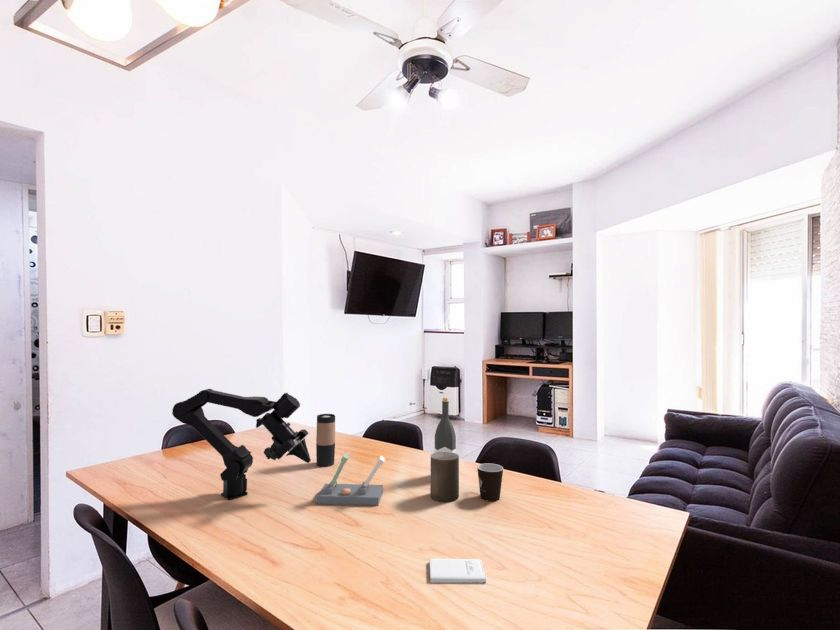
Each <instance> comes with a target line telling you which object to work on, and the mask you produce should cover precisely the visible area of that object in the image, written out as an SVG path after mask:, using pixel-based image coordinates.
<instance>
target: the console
mask: <svg viewBox="0 0 840 630" xmlns="http://www.w3.org/2000/svg"><path fill="white" fill-rule="evenodd" d="M329 484H330V483H324V485H323V486H322V488H321V489H320V491H319V492H318V493H317V495H316V496H315V498H316V499H315V501H316V503H315V504H316V505H339V506H340V505H343V506H347V505H348V506H377V507H378V506H379V505H380V502H381V498H382V497H383V496H382V495H383V492H384V485H383V484H370V483H369V484H368V487H367V489H366V488H361V486H362V484H363V483H361V484H359V483H355V484H354V483H338V480H337V481H336V486H335V487H334V489H333V488H327V487H328V485H329Z"/></svg>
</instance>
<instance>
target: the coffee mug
mask: <svg viewBox="0 0 840 630" xmlns="http://www.w3.org/2000/svg"><path fill="white" fill-rule="evenodd" d="M476 468H477V476H478V487H479V496H480V499H481V500H483V501H485V502H491V503H493V502H498V501H500V500H501V499H500V498H501V490H502V482H503V473H504V467H503V466H502V465H500V464H496V463H490V462H489V463H487V462H486V463H481V464H480V463H479V465H477V467H476Z"/></svg>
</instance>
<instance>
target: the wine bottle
mask: <svg viewBox="0 0 840 630" xmlns="http://www.w3.org/2000/svg"><path fill="white" fill-rule="evenodd" d="M441 403H442V404H441V405H442V406H441V409H442V410H441V411H442V412H441V419H440V421H439V423H438V425H437V427H436V429H435V433H434V453H437V452H452V453H456V454H457V450H456V449H457V446H456V444H457V443H456V442H457V441H456V440H457V436H456V432H455V428H454V426H453V424H452V422H451V420H450V417H449V414H450V413H449V411H450V410H449V408H450V407H449V405H450V401H449V397H446V396H445V397H442V401H441Z"/></svg>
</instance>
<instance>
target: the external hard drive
mask: <svg viewBox="0 0 840 630" xmlns="http://www.w3.org/2000/svg"><path fill="white" fill-rule="evenodd" d="M429 577H430V578H429V579H430V580H429V581H430V583H431V584H432V583H434V584H435V583H441V584H442V583H449V584H453V583H454V584H460V583H461V584H464V583H463V582H466V583H465V584H473V583H472V582H475V583H474V584H477V583H476V582H479V583H478V584H487V576H486V573H485V569H484V565H483V562H482V559H481V558H480V559H478V558H473V559H472V558H429ZM469 582H470V583H469ZM483 582H485V583H483Z"/></svg>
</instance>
